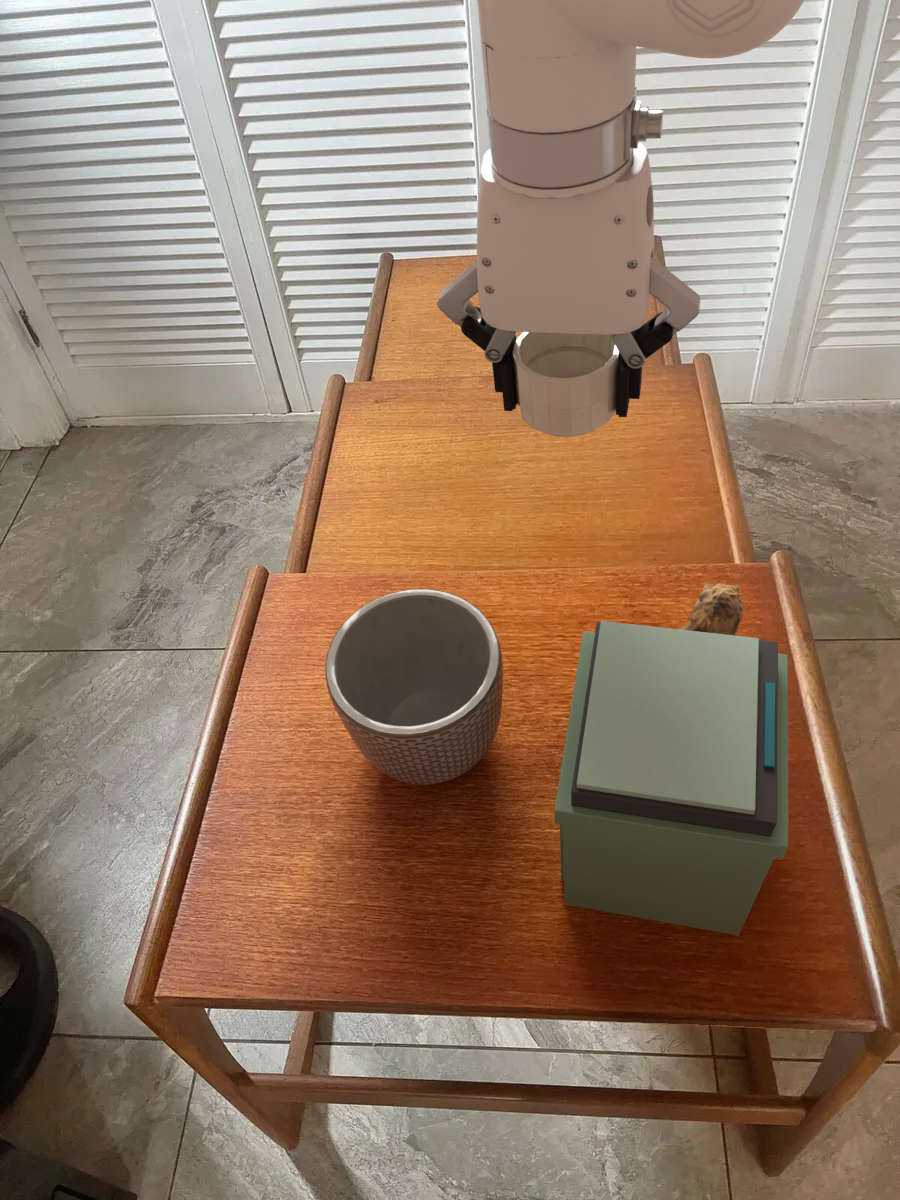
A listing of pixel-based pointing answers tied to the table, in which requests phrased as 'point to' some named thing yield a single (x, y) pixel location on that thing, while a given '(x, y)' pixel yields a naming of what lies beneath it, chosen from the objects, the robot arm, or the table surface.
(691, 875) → the stand
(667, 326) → the robot arm
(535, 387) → the bowl
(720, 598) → the lion figurine
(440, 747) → the planter
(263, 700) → the table surface
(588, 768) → the scale
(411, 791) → the table surface
